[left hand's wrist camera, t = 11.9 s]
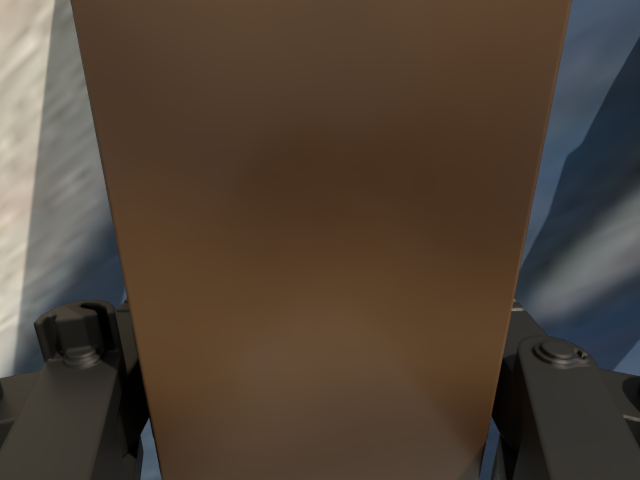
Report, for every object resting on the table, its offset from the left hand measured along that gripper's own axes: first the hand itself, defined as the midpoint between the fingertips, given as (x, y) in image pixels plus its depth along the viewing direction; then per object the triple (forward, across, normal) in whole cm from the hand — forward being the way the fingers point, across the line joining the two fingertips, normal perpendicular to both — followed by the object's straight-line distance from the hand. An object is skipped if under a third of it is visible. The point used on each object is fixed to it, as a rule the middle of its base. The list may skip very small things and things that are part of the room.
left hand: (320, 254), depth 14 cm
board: (+1, 0, -21) cm, 21 cm away
